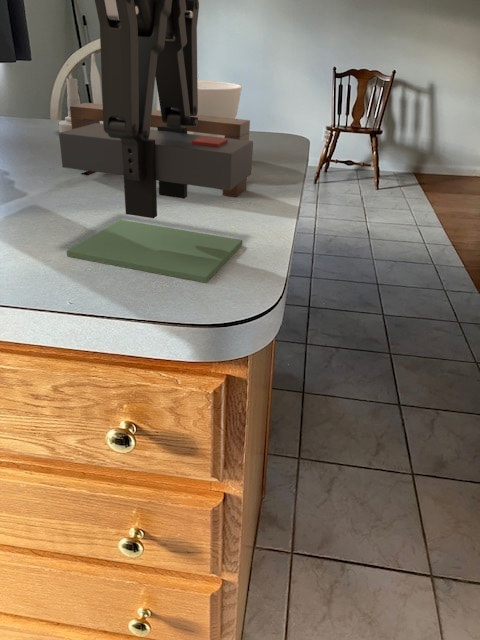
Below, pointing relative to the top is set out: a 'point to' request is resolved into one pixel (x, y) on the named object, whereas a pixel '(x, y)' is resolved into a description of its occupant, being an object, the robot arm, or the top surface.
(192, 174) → the remote
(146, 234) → the mat
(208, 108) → the cup
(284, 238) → the top surface
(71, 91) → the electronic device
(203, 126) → the brown wooden arch
